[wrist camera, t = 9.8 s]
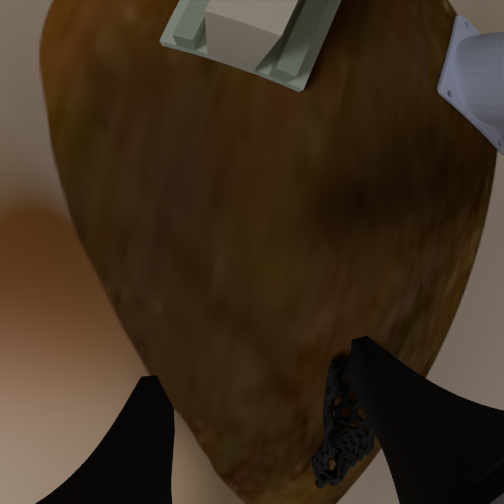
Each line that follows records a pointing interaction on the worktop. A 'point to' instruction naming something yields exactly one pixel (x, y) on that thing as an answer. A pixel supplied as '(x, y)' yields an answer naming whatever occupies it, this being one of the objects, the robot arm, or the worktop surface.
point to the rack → (281, 54)
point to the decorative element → (340, 430)
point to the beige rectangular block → (245, 29)
